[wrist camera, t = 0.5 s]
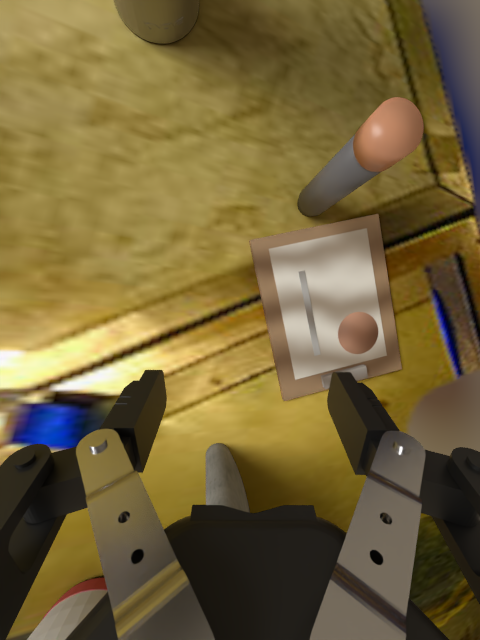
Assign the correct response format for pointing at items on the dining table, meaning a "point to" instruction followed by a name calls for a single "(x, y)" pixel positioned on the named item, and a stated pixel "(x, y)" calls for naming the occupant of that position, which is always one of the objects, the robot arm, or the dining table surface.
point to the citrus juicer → (70, 610)
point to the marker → (365, 154)
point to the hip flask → (224, 479)
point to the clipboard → (327, 304)
